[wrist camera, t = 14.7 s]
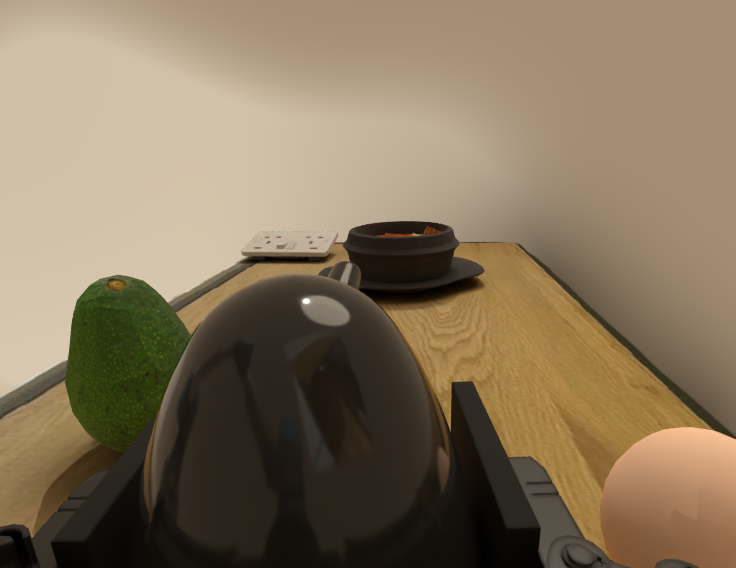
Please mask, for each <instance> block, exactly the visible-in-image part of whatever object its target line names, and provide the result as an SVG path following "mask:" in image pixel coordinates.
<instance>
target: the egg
mask: <svg viewBox="0 0 736 568" xmlns="http://www.w3.org/2000/svg"><path fill="white" fill-rule="evenodd" d="M600 518H601V529H602V533H603V537H604V542H605V545H606V547H607V549H608V552H609V554H610V556H611V558H612V560H613V562H615V563H618V564H621V565H624V566H627V567H631V568H654V567H655V565H656V563H657V562H660V561H662V560H664V559H678V560H681V561H685V562H688V563H691V564H693V565H695V566H697V567H699V568H736V439H733V438H731V437H728V436H726V435H723V434H721V433H718V432H716V431H712V430H706V429H699V428H693V427H684V428H671V429H665V430H662V431H659V432H656V433H653V434H650V435H649V436H647V437H645V438H644V439H642V440H640V441H638V442H637V443H635V444H634V445H633V446H632V447H631V448H630V449H629V450H628V451H627V452H625V453H624V454H623V455H622V456H621V457H620V458H619V459H618V460H617V461H616V462H615V464H614V466H613V468H612V470H611V471H610V473H609V475H608V477H607V479H606V481H605V486H604V490H603V495H602V500H601V504H600Z"/></svg>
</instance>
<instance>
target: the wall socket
mask: <svg viewBox="0 0 736 568" xmlns="http://www.w3.org/2000/svg"><path fill="white" fill-rule="evenodd" d="M337 237H338V232H335V231H277V232H276V231H270V232H268V231H266V232H265V231H262V232H258V233H257V235H255V237H254V238H253V239H252V240H251V241H250V242H249V243H248V244H247V245H246V246H245V247H244V248H243V249H242V250H241V252H242V255H244V256H253V258H254V260H265V259H266V257H270V258H277V259H299V258H300V259H306V258H307V257H308V259H309V261H320V259H321V257H325V256H327V255H328V254H329V252H330V250H331V249H332V247H333V245H334V243H335V241H336V239H337Z"/></svg>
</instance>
